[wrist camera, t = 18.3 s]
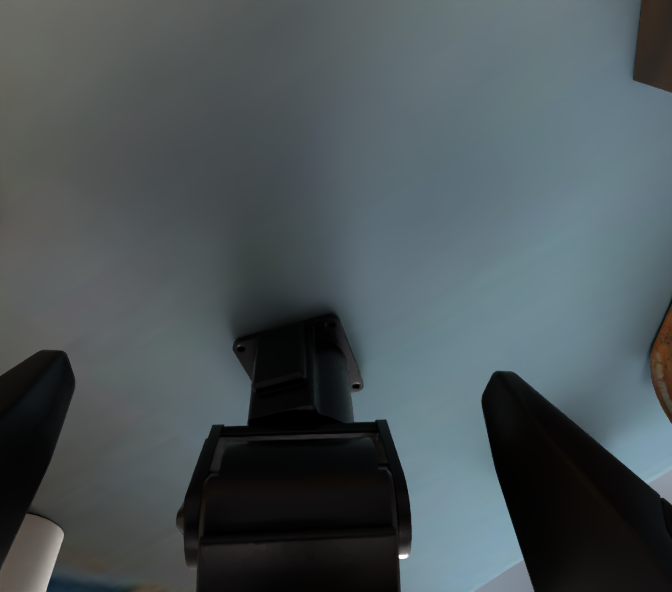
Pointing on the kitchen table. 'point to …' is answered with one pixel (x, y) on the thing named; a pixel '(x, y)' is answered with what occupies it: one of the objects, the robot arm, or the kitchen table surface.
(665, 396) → the tin
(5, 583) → the coffee cup
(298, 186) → the kitchen table surface
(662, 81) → the brown wooden board
